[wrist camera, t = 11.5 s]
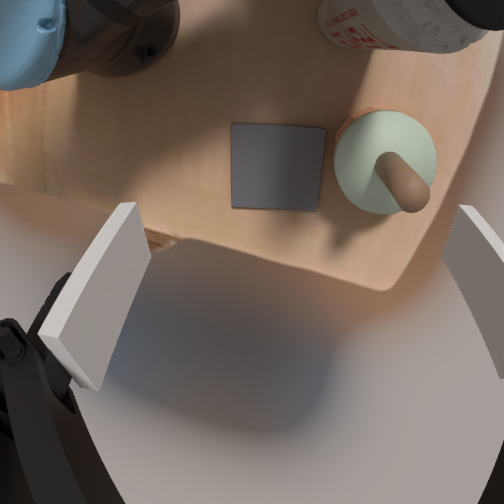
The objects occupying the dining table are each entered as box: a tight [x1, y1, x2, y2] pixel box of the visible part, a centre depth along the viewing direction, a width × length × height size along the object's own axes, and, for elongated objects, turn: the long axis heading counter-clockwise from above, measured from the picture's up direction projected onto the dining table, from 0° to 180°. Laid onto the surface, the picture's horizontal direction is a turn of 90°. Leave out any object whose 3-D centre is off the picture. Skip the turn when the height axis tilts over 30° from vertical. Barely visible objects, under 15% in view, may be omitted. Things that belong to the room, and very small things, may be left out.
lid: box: [334, 110, 437, 214], centre depth 31 cm, size 13×13×10 cm
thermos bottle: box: [317, 0, 504, 54], centre depth 18 cm, size 8×8×28 cm
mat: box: [231, 123, 326, 211], centre depth 41 cm, size 12×12×1 cm
